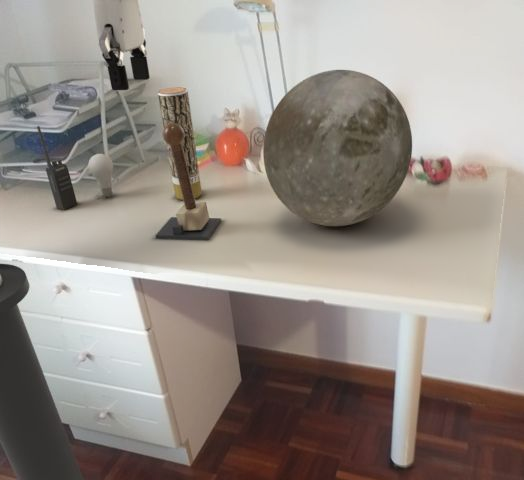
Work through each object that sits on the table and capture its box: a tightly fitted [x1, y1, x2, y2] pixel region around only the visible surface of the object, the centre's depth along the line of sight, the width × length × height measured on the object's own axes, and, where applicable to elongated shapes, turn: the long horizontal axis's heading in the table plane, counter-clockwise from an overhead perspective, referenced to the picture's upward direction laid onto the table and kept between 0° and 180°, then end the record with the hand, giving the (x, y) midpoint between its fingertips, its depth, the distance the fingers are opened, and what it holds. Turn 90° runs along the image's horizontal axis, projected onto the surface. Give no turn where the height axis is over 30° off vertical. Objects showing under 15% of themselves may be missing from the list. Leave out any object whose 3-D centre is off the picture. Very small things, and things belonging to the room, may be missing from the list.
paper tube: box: [157, 86, 203, 201], centre depth 137 cm, size 7×7×25 cm
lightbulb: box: [88, 153, 114, 198], centre depth 145 cm, size 6×6×11 cm
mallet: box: [162, 123, 211, 231], centre depth 120 cm, size 22×6×5 cm
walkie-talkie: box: [36, 125, 78, 211], centre depth 139 cm, size 5×3×20 cm
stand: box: [155, 216, 222, 241], centre depth 126 cm, size 12×10×2 cm
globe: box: [262, 69, 413, 227], centre depth 116 cm, size 30×30×30 cm
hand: (131, 84), depth 108 cm, fingers open, 9 cm apart
